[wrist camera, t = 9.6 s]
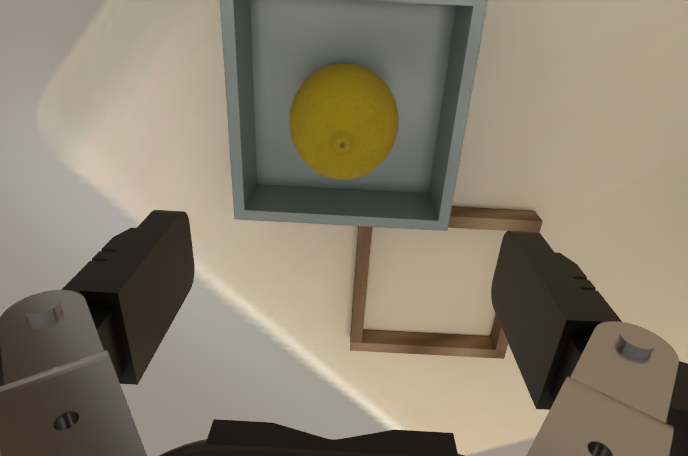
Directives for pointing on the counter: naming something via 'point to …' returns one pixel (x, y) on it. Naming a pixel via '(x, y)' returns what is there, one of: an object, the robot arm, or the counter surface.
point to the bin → (381, 58)
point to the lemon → (343, 121)
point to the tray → (432, 341)
